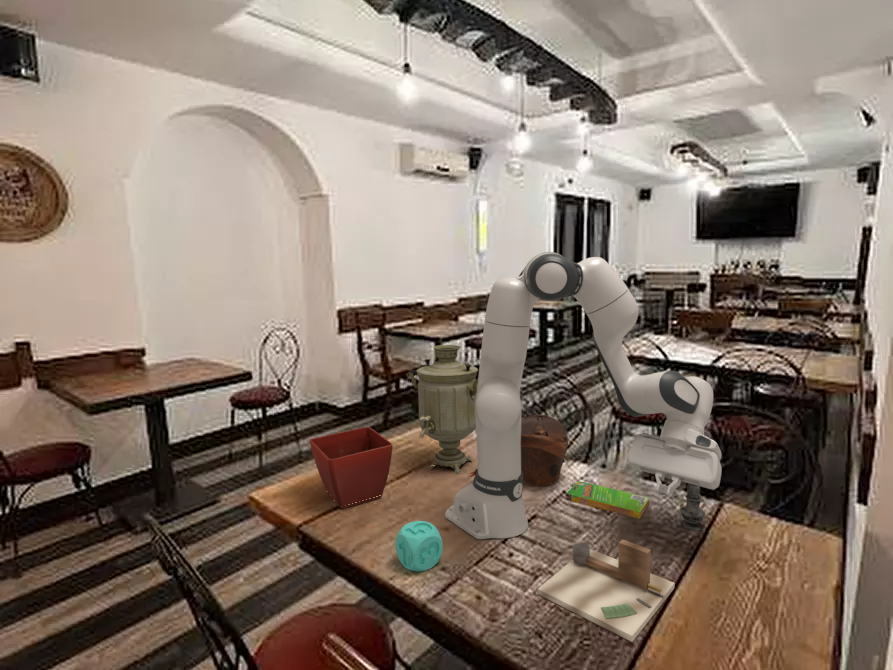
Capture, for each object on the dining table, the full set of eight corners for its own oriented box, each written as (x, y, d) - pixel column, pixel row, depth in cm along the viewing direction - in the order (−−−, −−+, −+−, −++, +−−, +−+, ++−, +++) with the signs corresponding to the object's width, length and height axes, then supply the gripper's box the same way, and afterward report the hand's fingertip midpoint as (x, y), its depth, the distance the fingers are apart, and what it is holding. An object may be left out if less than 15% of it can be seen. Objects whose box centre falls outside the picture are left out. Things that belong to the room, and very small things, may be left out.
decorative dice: (395, 560, 120) (393, 528, 119) (423, 547, 125) (422, 516, 124) (414, 576, 114) (413, 543, 113) (443, 562, 119) (442, 530, 117)
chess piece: (708, 532, 127) (710, 486, 126) (682, 530, 129) (684, 484, 127) (701, 519, 133) (703, 475, 131) (677, 518, 134) (678, 474, 133)
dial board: (537, 594, 106) (537, 588, 106) (586, 552, 121) (586, 546, 120) (632, 642, 93) (632, 635, 93) (674, 588, 107) (674, 582, 107)
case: (532, 497, 148) (532, 436, 146) (498, 471, 167) (497, 417, 164) (582, 485, 155) (584, 427, 153) (544, 462, 174) (545, 410, 171)
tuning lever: (569, 560, 115) (569, 526, 113) (578, 553, 117) (578, 520, 116) (657, 597, 101) (658, 560, 100) (664, 589, 104) (665, 552, 103)
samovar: (384, 466, 174) (378, 349, 168) (442, 445, 191) (438, 338, 185) (444, 494, 152) (440, 360, 146) (503, 467, 170) (501, 347, 164)
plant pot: (332, 518, 140) (328, 459, 138) (312, 492, 157) (308, 438, 154) (396, 499, 150) (394, 444, 147) (371, 476, 166) (368, 426, 164)
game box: (638, 523, 135) (564, 499, 147) (648, 508, 143) (577, 487, 154) (639, 512, 134) (565, 489, 146) (649, 497, 142) (578, 477, 154)
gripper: (633, 425, 128) (614, 475, 122) (724, 444, 114) (707, 502, 108) (640, 437, 132) (623, 487, 126) (729, 457, 118) (713, 513, 112)
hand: (662, 494), depth 117 cm, fingers closed
